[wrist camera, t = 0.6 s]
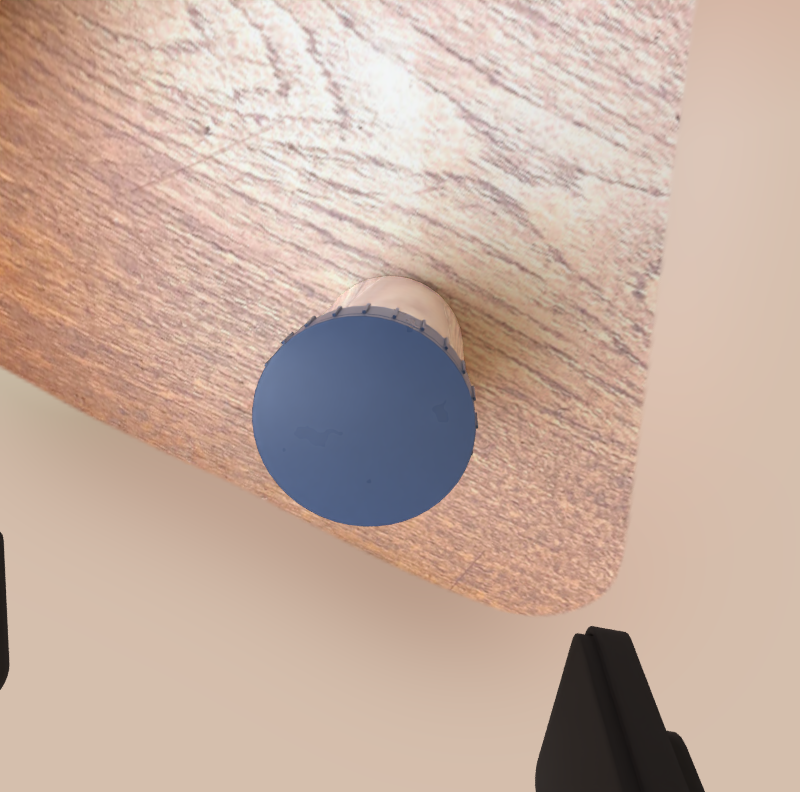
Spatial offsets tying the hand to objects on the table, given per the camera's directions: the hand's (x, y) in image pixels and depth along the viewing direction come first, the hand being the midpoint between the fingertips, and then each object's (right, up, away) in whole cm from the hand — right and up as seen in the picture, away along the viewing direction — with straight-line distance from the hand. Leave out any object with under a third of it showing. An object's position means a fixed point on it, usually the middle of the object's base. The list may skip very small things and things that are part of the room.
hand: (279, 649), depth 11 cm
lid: (+1, +3, +10) cm, 11 cm away
